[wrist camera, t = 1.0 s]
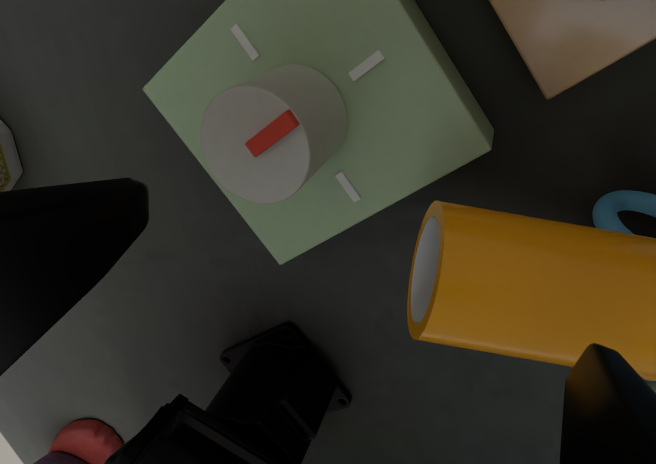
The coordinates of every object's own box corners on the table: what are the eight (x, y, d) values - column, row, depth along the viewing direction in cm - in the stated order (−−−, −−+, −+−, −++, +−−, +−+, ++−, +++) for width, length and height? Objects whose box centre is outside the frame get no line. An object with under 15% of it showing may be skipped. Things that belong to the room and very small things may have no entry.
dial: (293, 181, 20) (246, 227, 17) (235, 102, 19) (172, 132, 16) (367, 132, 18) (331, 172, 15) (305, 41, 17) (251, 60, 14)
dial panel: (299, 241, 25) (278, 267, 23) (175, 77, 23) (138, 89, 21) (494, 130, 19) (492, 151, 17) (352, -102, 17) (327, -113, 15)
